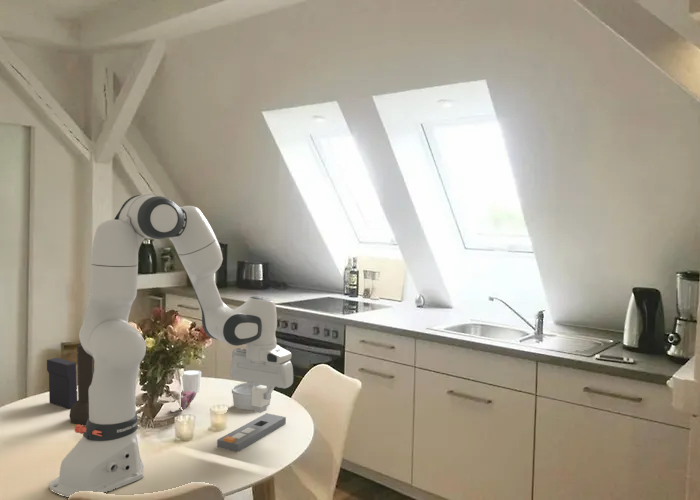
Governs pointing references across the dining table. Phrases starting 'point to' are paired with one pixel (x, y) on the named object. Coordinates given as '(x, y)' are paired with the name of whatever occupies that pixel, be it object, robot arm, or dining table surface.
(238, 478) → the dining table surface
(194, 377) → the white cup
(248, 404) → the ramekin
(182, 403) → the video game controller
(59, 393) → the dark blue lidded box
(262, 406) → the charger
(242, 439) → the power strip
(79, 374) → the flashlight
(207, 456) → the dining table surface
